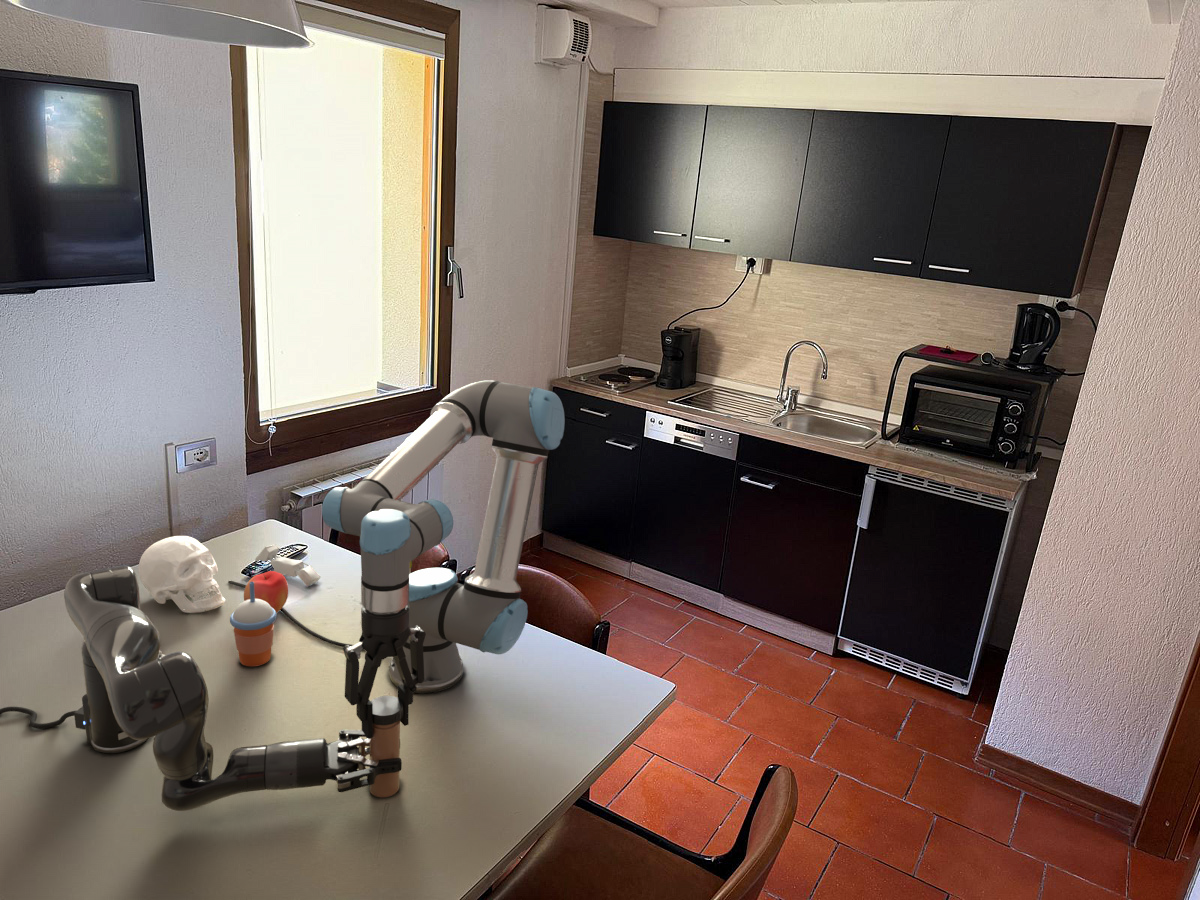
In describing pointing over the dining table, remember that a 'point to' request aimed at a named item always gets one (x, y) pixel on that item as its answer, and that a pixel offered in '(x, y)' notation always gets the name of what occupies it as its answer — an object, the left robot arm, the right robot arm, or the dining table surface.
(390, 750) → the jar
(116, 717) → the left robot arm
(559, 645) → the dining table surface
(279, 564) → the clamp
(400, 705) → the lid
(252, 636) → the cup with straw
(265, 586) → the apple
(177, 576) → the skull
